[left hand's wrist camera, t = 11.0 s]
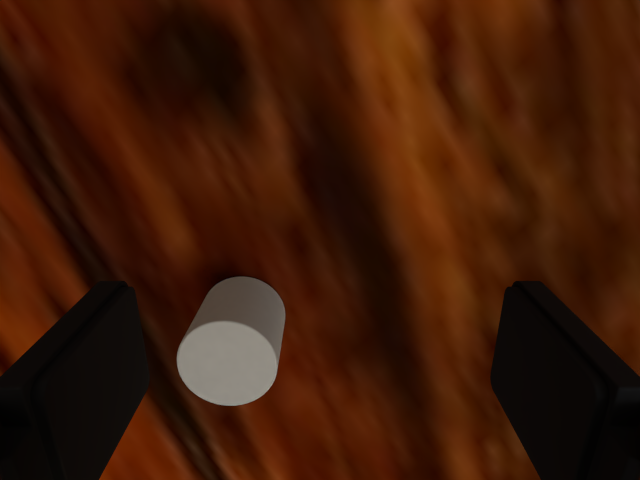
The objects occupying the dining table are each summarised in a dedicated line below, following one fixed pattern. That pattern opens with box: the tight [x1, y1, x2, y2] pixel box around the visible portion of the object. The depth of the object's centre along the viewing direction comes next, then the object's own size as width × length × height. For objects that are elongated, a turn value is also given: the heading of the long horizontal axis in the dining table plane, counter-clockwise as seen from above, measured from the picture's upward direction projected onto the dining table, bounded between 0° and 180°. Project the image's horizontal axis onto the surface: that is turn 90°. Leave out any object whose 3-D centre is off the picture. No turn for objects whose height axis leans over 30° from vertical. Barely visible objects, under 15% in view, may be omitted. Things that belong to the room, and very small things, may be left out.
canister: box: [177, 277, 285, 406], centre depth 21 cm, size 4×4×4 cm
